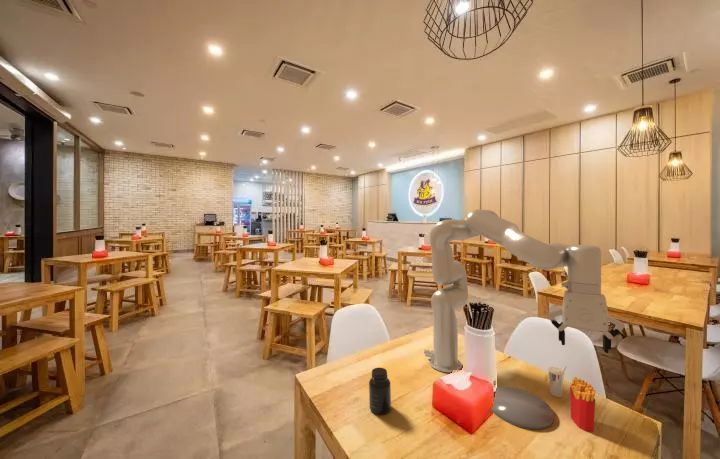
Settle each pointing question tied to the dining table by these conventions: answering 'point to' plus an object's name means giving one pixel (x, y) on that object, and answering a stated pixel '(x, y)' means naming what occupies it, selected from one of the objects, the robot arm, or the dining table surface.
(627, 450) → the dining table surface
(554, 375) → the milkshake
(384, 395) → the supplement bottle
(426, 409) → the dining table surface
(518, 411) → the plate
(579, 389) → the french fries
